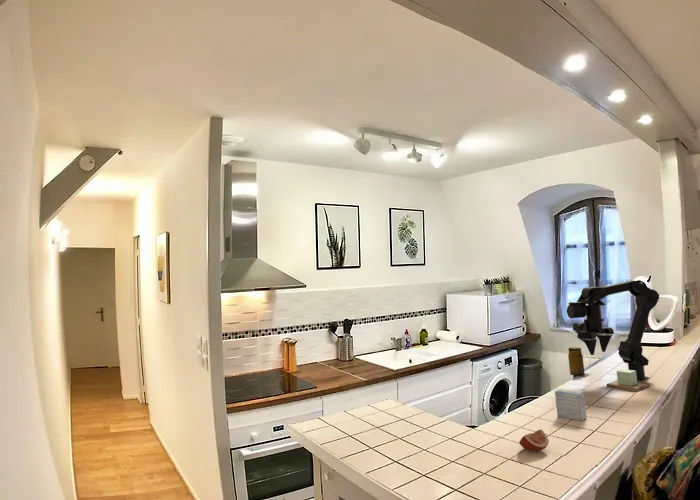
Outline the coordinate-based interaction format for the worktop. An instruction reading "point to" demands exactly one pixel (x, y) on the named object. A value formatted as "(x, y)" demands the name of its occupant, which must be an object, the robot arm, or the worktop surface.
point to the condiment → (576, 362)
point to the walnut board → (628, 386)
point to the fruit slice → (534, 441)
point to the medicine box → (570, 404)
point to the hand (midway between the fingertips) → (598, 353)
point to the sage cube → (626, 377)
